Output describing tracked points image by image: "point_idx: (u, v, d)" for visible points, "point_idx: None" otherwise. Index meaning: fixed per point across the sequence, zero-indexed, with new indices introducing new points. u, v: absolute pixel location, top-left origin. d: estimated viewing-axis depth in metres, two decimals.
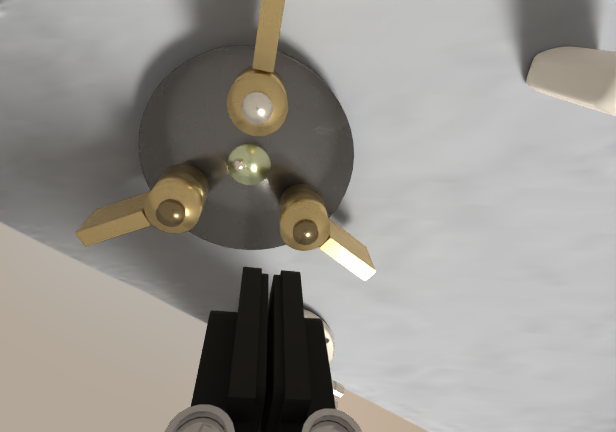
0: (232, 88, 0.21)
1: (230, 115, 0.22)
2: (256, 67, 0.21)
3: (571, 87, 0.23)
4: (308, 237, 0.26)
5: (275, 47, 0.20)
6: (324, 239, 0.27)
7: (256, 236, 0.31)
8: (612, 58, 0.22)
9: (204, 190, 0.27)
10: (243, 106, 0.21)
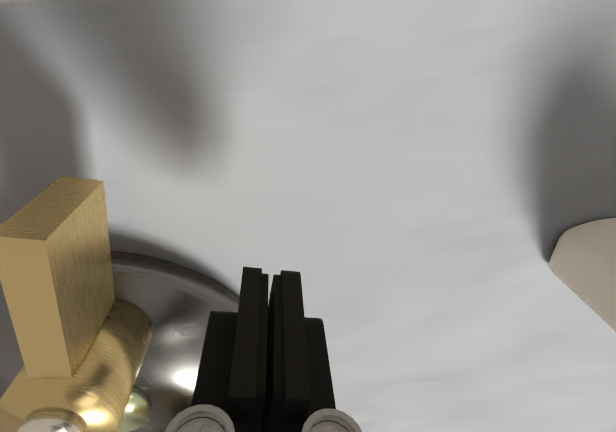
0: None
1: None
2: (35, 375, 0.11)
3: None
4: None
5: (62, 348, 0.10)
6: None
7: None
8: None
9: None
10: None
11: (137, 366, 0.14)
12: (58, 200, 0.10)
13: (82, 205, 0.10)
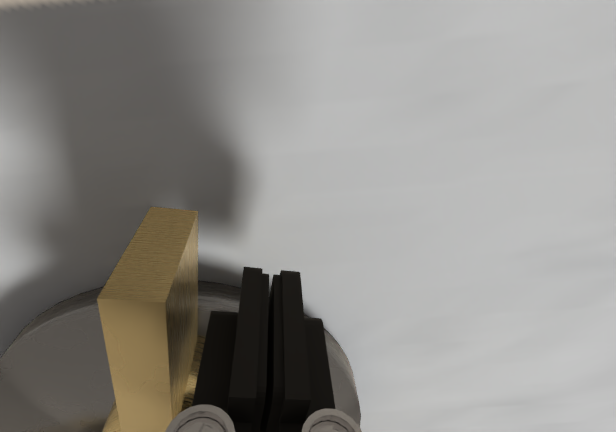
0: None
1: None
2: None
3: None
4: None
5: (167, 415, 0.09)
6: None
7: None
8: None
9: None
10: None
11: None
12: (159, 241, 0.08)
13: (186, 246, 0.09)
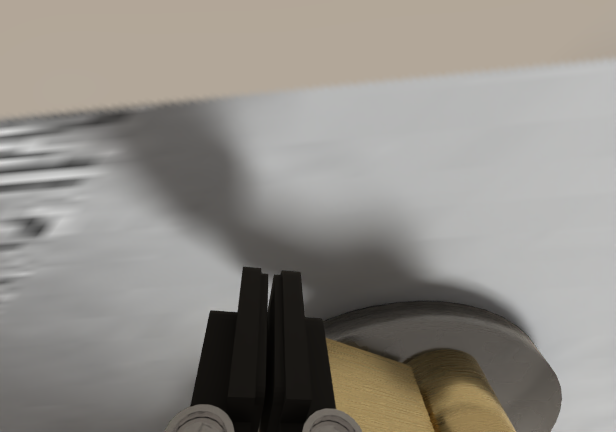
0: None
1: None
2: None
3: None
4: None
5: None
6: None
7: None
8: None
9: None
10: None
11: (484, 395, 0.13)
12: None
13: None
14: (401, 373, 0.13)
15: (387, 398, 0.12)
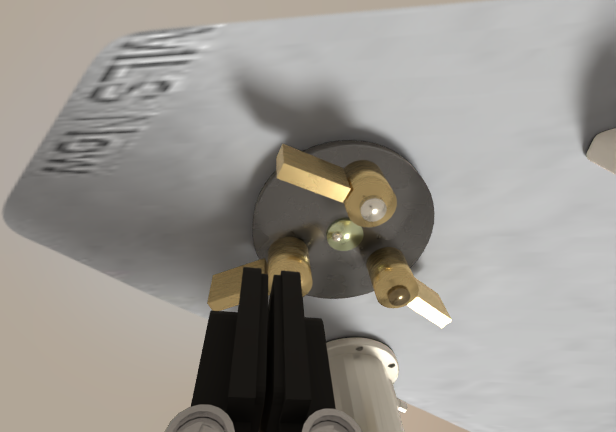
0: (352, 220, 0.26)
1: (371, 226, 0.27)
2: (343, 199, 0.26)
3: None
4: (401, 300, 0.30)
5: (333, 183, 0.25)
6: (412, 299, 0.31)
7: (343, 288, 0.36)
8: None
9: (309, 260, 0.31)
10: (368, 219, 0.26)
11: (375, 171, 0.27)
12: (279, 158, 0.26)
13: (284, 151, 0.25)
14: (336, 167, 0.27)
15: (326, 169, 0.26)
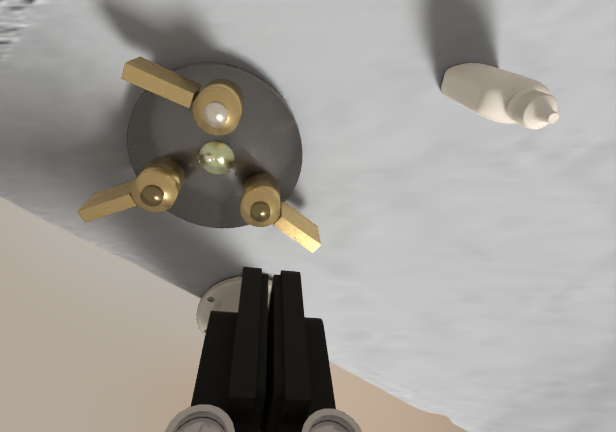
0: (201, 127, 0.29)
1: (220, 134, 0.29)
2: (188, 105, 0.28)
3: (463, 97, 0.30)
4: (262, 215, 0.32)
5: (175, 87, 0.27)
6: (276, 217, 0.33)
7: (226, 217, 0.38)
8: (489, 76, 0.28)
9: (180, 178, 0.33)
10: (212, 124, 0.28)
11: (225, 84, 0.29)
12: None
13: (135, 59, 0.28)
14: (192, 82, 0.30)
15: (176, 79, 0.28)
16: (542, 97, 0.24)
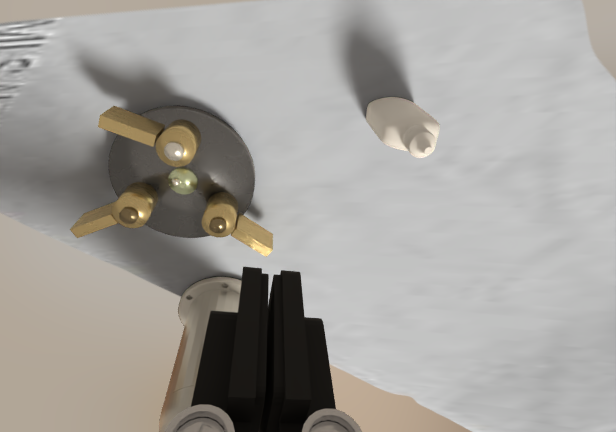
0: (163, 160, 0.36)
1: (179, 165, 0.36)
2: (152, 144, 0.35)
3: (375, 129, 0.37)
4: (219, 228, 0.40)
5: (141, 131, 0.34)
6: (232, 229, 0.41)
7: (195, 228, 0.45)
8: (391, 113, 0.35)
9: (153, 199, 0.41)
10: (171, 159, 0.35)
11: (182, 125, 0.36)
12: None
13: (109, 110, 0.35)
14: (157, 124, 0.37)
15: (143, 123, 0.36)
16: (422, 134, 0.31)
